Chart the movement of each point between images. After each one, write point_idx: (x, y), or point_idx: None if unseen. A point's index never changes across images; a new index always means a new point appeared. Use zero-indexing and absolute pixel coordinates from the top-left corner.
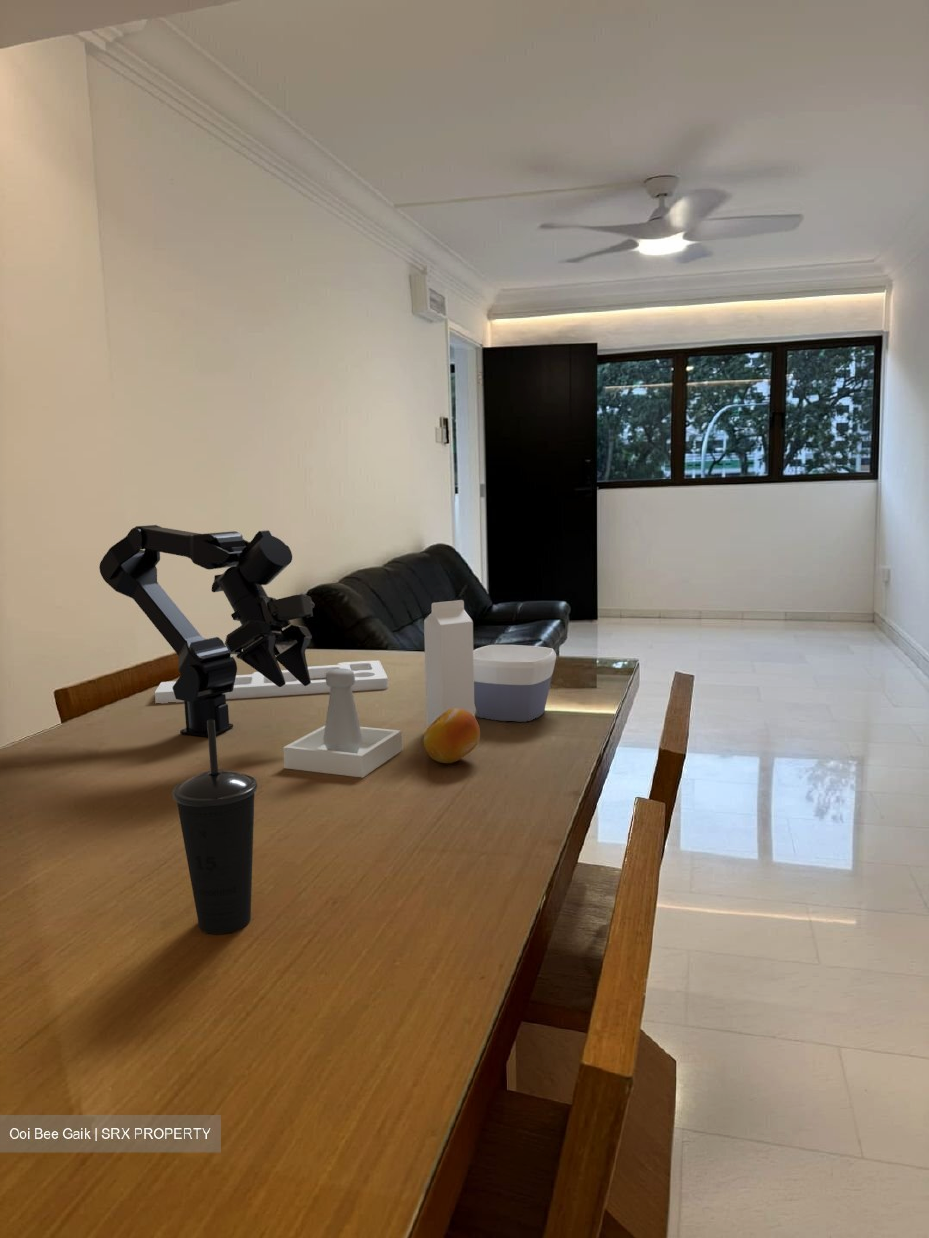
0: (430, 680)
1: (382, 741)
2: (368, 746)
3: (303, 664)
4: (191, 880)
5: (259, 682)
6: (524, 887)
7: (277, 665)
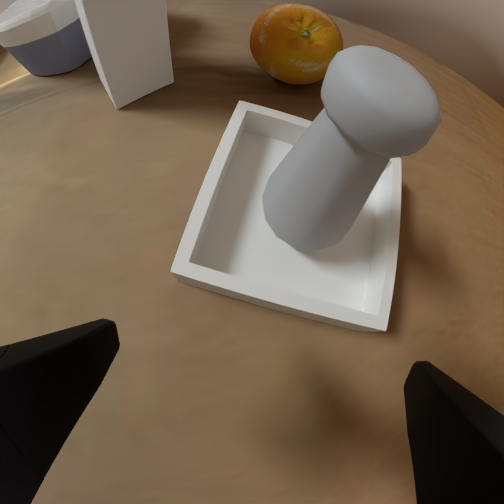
0: (114, 22)
1: None
2: (245, 175)
3: (38, 362)
4: None
5: None
6: (484, 96)
7: (485, 412)
